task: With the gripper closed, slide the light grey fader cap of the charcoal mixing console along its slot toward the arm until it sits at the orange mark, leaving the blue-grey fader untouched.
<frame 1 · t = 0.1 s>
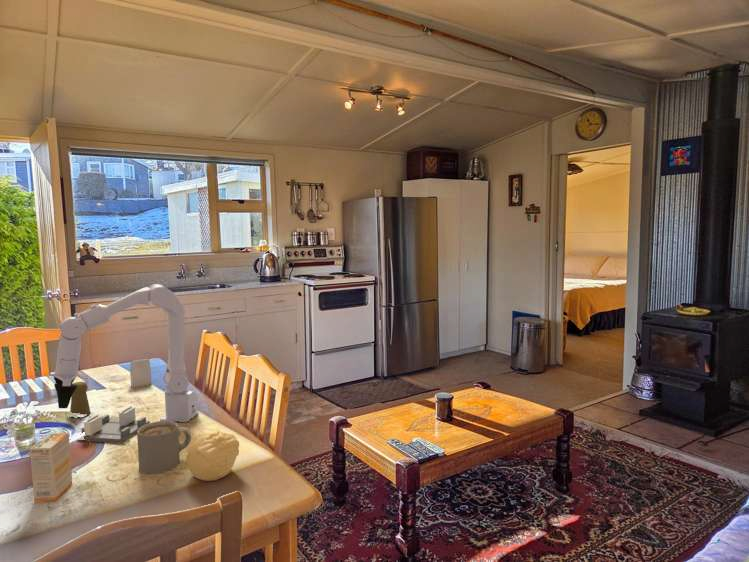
hand: (62, 403, 148), 11 cm above the table, tool pointing down, fingers open, 7 cm apart
near fader cap: (93, 424, 150), point 4 cm above the table, slide at 4.0 cm
coffee mug: (166, 463, 134), on the table
tea bag: (141, 385, 199), on the table
supplement box: (53, 493, 119), on the table
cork: (80, 415, 167), on the table
console: (115, 432, 154), on the table
sculpture: (212, 475, 128), on the table
far fader cap: (127, 415, 157), point 4 cm above the table, slide at -1.5 cm
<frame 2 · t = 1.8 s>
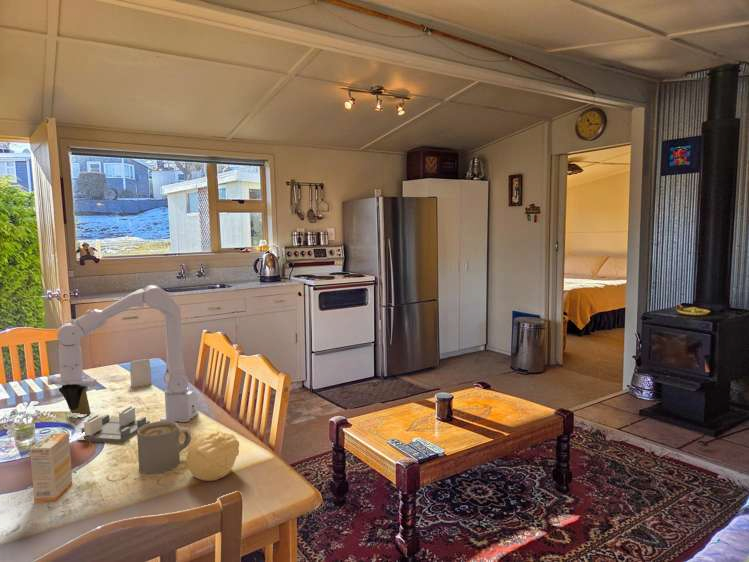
hand: (73, 408, 150), 8 cm above the table, tool pointing down, fingers closed
nothing on the table moved.
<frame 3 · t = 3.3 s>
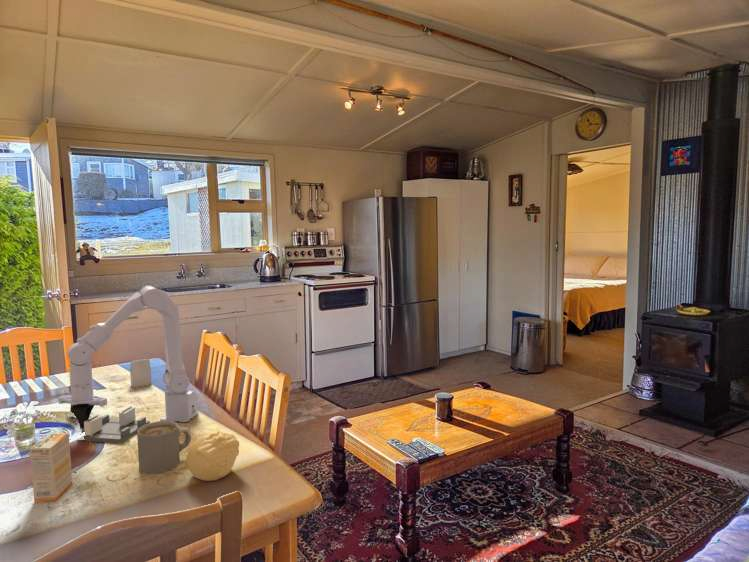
hand: (84, 427, 150), 3 cm above the table, tool pointing down, fingers closed, pressing on console
nothing on the table moved.
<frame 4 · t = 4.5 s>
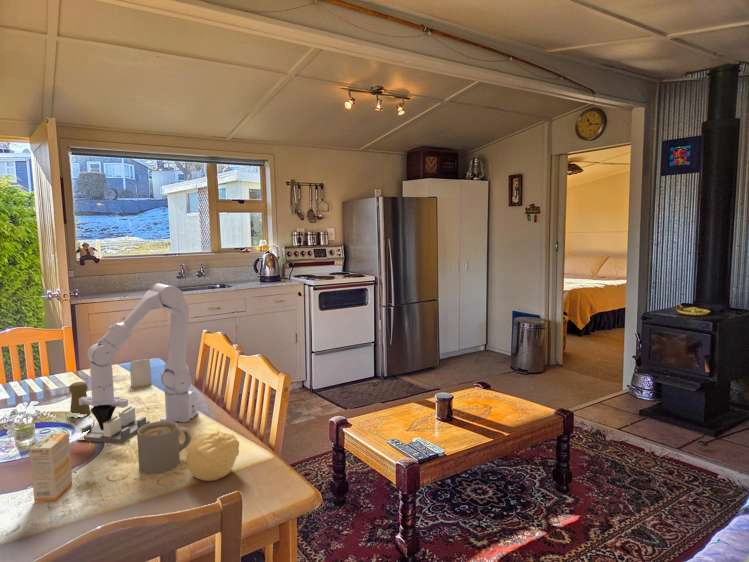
hand: (105, 429, 149), 3 cm above the table, tool pointing down, fingers closed
near fader cap: (112, 426, 149), point 4 cm above the table, slide at -2.2 cm, touching gripper
everything else where it was.
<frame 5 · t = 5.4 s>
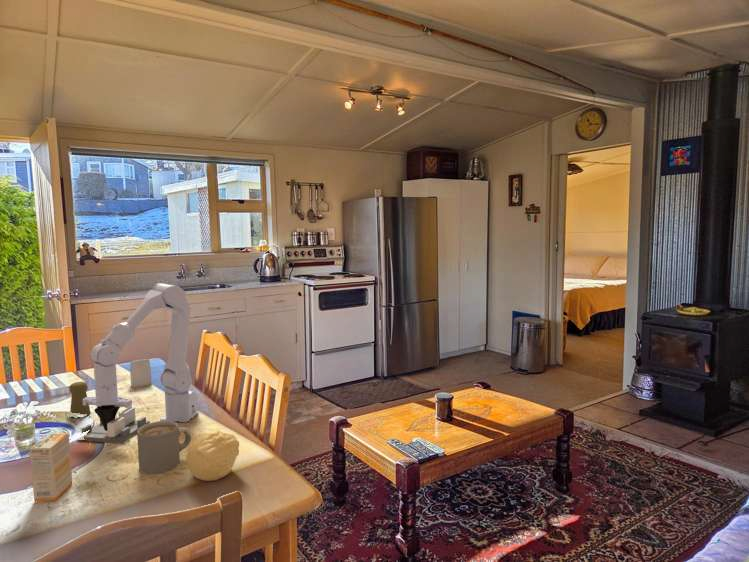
hand: (108, 429, 149), 3 cm above the table, tool pointing down, fingers closed
near fader cap: (116, 426, 149), point 4 cm above the table, slide at -3.5 cm, touching gripper
everything else where it was.
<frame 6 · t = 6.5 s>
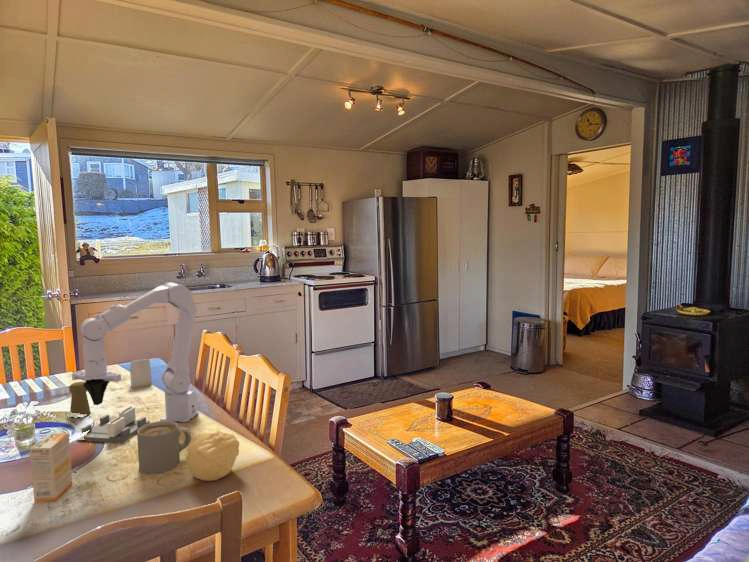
hand: (98, 403, 150), 10 cm above the table, tool pointing down, fingers closed
near fader cap: (116, 426, 149), point 4 cm above the table, slide at -3.5 cm
everything else where it was.
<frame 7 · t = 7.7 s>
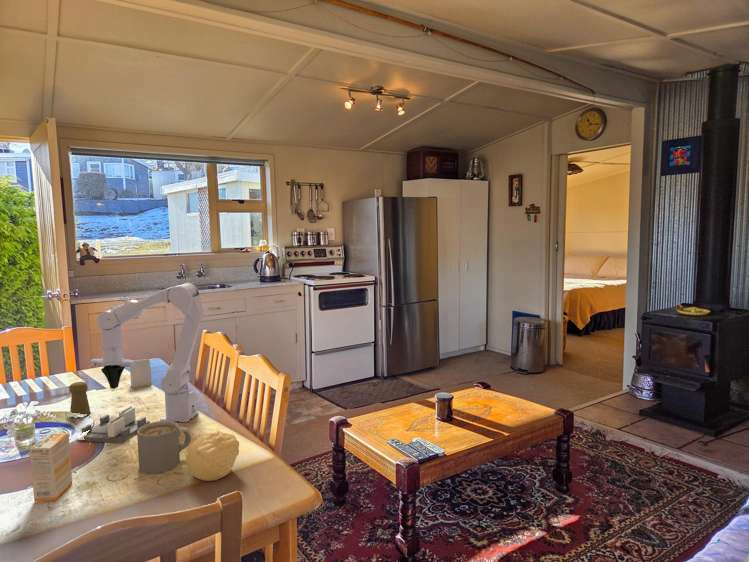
hand: (114, 387, 164), 10 cm above the table, tool pointing down, fingers closed
nothing on the table moved.
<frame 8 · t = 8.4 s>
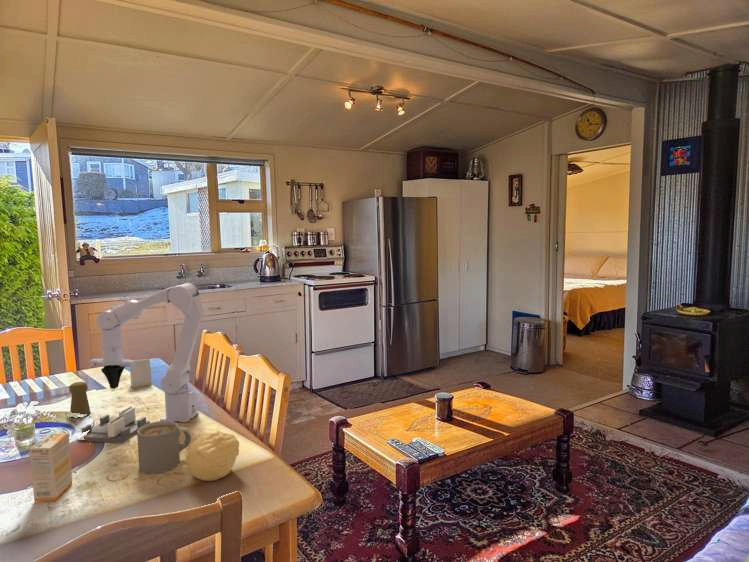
hand: (114, 387, 164), 10 cm above the table, tool pointing down, fingers closed
nothing on the table moved.
at the end: near fader cap slide at -3.5 cm; far fader cap slide at -1.5 cm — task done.
